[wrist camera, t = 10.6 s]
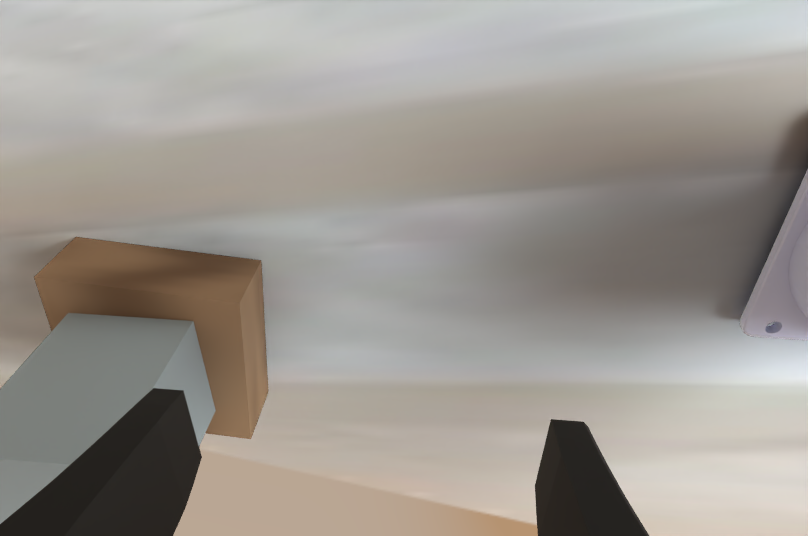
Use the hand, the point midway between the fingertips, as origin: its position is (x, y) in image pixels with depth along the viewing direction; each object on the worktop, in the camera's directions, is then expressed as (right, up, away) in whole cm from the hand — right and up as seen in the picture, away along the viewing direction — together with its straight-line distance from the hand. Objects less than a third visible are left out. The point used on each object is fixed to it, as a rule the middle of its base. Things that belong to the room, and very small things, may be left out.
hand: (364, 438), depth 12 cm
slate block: (-9, 0, +10) cm, 13 cm away
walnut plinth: (-8, +2, +12) cm, 15 cm away
